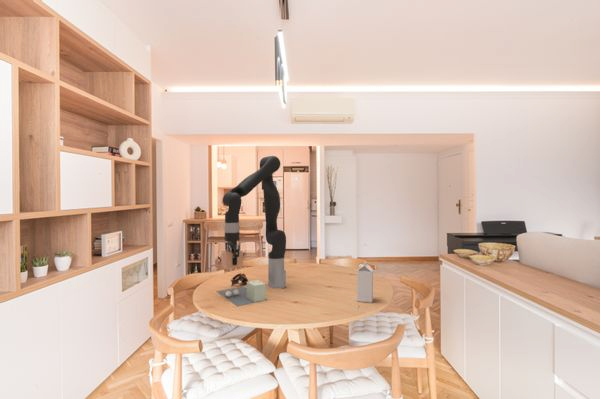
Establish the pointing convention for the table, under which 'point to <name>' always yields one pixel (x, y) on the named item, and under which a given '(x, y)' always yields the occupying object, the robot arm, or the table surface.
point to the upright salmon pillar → (231, 260)
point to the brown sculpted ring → (239, 279)
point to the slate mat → (237, 296)
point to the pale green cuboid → (256, 290)
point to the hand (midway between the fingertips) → (232, 263)
